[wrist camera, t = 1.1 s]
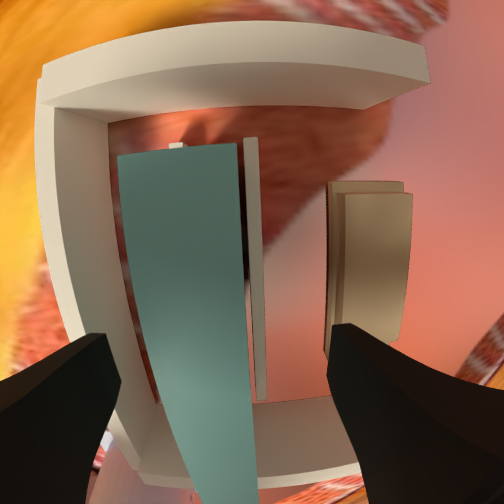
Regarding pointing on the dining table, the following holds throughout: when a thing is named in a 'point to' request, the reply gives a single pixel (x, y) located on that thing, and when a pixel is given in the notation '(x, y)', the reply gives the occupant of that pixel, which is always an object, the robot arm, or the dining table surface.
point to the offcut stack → (367, 256)
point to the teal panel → (194, 307)
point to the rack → (245, 94)
